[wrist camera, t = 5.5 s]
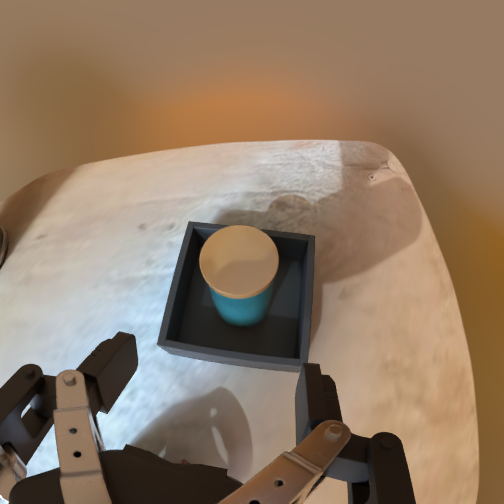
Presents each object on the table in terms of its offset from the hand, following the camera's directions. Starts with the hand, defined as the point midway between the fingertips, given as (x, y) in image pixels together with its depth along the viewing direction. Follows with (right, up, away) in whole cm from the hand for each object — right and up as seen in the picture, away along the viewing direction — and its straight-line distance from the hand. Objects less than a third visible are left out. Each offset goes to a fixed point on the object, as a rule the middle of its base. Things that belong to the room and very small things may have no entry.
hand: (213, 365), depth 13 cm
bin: (+1, 0, +14) cm, 14 cm away
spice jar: (+1, +1, +13) cm, 13 cm away
